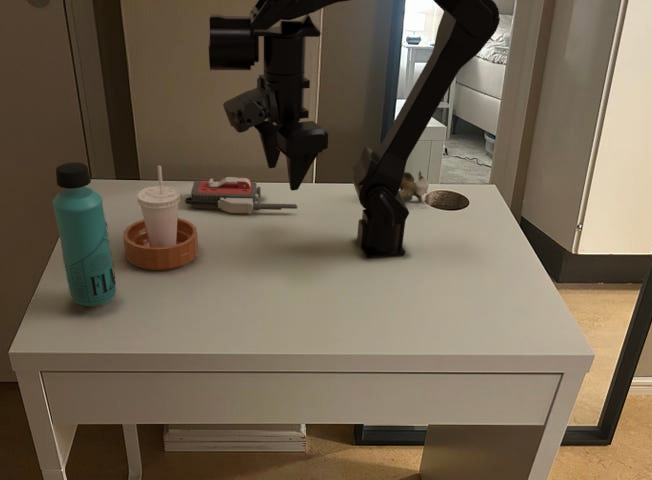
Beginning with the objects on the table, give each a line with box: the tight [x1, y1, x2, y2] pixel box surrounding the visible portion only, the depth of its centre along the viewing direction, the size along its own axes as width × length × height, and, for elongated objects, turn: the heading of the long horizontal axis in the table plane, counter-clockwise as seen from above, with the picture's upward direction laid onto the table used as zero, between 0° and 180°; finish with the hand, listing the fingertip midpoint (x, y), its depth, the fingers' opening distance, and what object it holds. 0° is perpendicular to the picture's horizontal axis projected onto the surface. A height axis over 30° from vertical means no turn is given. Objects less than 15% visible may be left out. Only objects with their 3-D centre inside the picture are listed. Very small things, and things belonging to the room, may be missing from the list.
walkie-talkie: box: [184, 176, 298, 215], centre depth 125 cm, size 9×4×20 cm
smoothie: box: [136, 165, 181, 248], centre depth 106 cm, size 6×6×14 cm
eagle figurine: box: [399, 170, 430, 203], centre depth 126 cm, size 8×7×9 cm
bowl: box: [123, 217, 199, 271], centre depth 109 cm, size 11×11×4 cm
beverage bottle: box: [52, 161, 117, 307], centre depth 93 cm, size 6×7×20 cm
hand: (282, 178), depth 105 cm, fingers open, 9 cm apart
